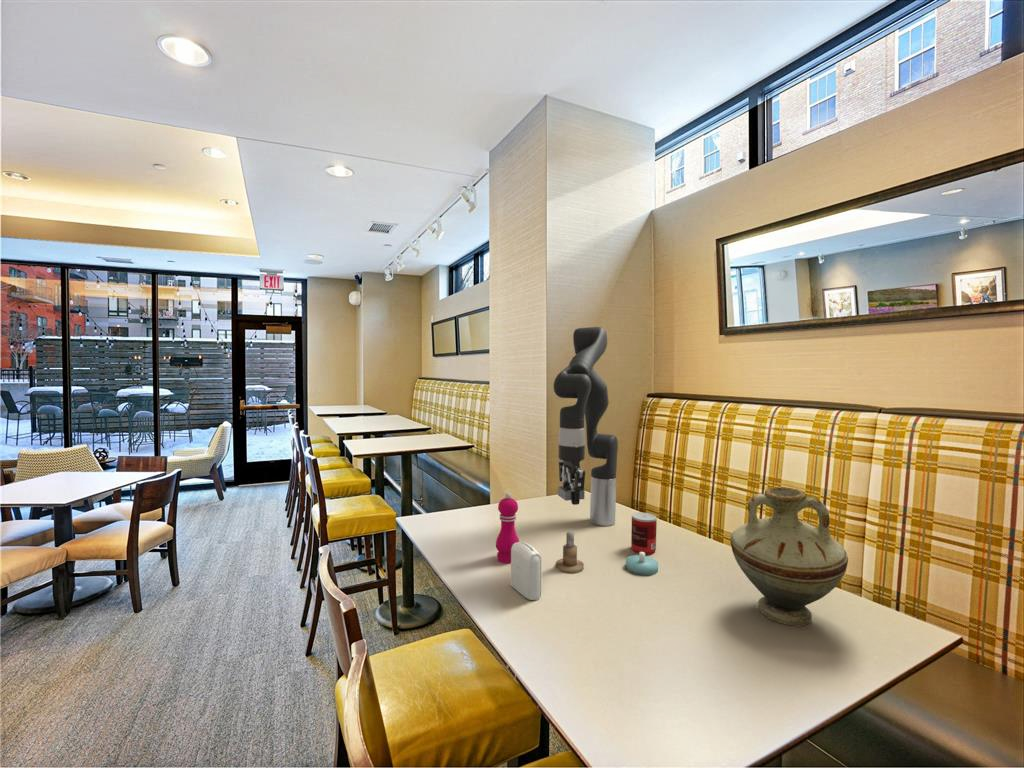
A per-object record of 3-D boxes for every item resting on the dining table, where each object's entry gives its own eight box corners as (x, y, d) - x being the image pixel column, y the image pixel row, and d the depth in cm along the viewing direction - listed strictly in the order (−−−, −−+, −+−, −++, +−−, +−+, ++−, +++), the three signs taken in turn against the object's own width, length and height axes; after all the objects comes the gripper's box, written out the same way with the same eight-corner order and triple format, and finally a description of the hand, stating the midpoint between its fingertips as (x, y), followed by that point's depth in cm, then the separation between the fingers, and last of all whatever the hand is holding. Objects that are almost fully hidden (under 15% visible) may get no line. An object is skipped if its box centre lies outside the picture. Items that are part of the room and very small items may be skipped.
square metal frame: (557, 495, 136) (557, 486, 136) (576, 493, 137) (576, 485, 137) (565, 500, 130) (565, 491, 130) (584, 499, 132) (584, 490, 132)
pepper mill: (516, 565, 135) (517, 497, 134) (492, 562, 137) (493, 495, 136) (521, 555, 142) (522, 491, 142) (498, 553, 144) (499, 489, 143)
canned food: (653, 546, 151) (653, 512, 151) (658, 555, 143) (659, 520, 143) (629, 544, 152) (629, 511, 152) (633, 554, 144) (633, 519, 144)
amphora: (710, 600, 118) (708, 485, 114) (778, 577, 126) (778, 470, 123) (795, 658, 96) (796, 519, 92) (871, 626, 104) (874, 497, 101)
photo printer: (508, 585, 122) (509, 539, 122) (522, 582, 124) (523, 536, 124) (528, 602, 113) (529, 552, 113) (543, 598, 115) (544, 549, 115)
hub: (620, 563, 137) (620, 548, 137) (646, 560, 140) (647, 545, 139) (636, 576, 128) (636, 560, 128) (664, 573, 131) (664, 557, 131)
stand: (551, 562, 137) (552, 529, 137) (576, 560, 139) (577, 527, 139) (562, 574, 129) (562, 539, 129) (588, 571, 131) (588, 536, 131)
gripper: (550, 439, 139) (549, 495, 140) (569, 447, 125) (568, 509, 126) (573, 438, 141) (572, 493, 142) (594, 446, 127) (593, 507, 128)
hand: (570, 500), depth 134 cm, fingers closed on square metal frame, 5 cm apart
